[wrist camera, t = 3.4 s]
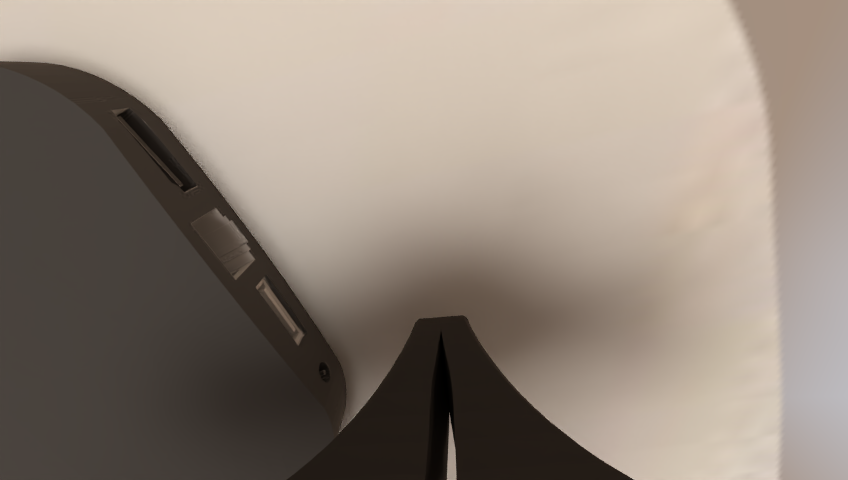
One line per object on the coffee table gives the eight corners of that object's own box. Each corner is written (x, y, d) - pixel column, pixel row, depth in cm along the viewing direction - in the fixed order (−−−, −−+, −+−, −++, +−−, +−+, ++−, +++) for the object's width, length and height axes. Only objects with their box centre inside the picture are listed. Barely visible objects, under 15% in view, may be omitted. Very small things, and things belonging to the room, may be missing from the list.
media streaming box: (-259, 255, 13) (-451, 307, 10) (89, -2, 10) (-43, -31, 7) (89, 537, 17) (24, 625, 15) (391, 415, 15) (382, 495, 12)
